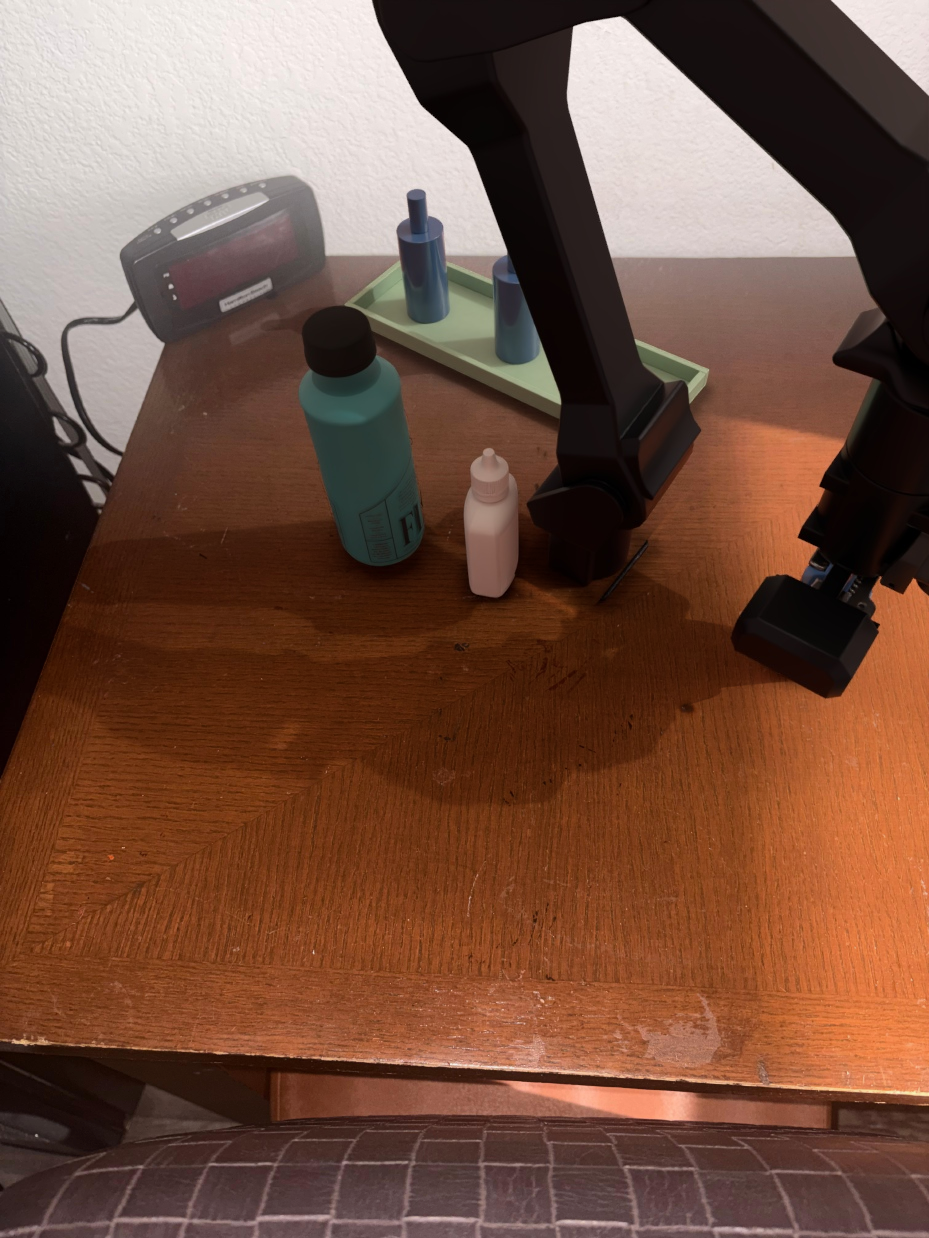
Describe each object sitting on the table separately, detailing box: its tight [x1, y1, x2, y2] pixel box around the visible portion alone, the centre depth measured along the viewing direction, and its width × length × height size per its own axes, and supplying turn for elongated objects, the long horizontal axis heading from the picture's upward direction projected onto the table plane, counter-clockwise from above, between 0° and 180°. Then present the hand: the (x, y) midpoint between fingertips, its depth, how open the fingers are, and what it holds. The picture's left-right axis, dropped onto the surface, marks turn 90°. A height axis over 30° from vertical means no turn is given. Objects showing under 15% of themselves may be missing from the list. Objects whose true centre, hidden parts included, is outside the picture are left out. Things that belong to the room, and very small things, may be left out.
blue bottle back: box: [395, 188, 450, 324], centre depth 73 cm, size 4×4×11 cm
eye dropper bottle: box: [463, 447, 520, 598], centre depth 57 cm, size 4×6×12 cm
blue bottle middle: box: [491, 251, 541, 364], centre depth 69 cm, size 4×4×11 cm
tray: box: [343, 259, 710, 420], centre depth 74 cm, size 10×31×2 cm, turn 53°
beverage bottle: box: [297, 305, 426, 567], centre depth 55 cm, size 6×7×20 cm
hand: (816, 627), depth 54 cm, fingers closed on blue bottle front, 5 cm apart
